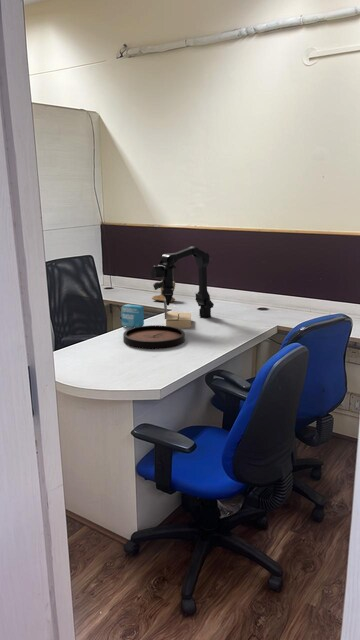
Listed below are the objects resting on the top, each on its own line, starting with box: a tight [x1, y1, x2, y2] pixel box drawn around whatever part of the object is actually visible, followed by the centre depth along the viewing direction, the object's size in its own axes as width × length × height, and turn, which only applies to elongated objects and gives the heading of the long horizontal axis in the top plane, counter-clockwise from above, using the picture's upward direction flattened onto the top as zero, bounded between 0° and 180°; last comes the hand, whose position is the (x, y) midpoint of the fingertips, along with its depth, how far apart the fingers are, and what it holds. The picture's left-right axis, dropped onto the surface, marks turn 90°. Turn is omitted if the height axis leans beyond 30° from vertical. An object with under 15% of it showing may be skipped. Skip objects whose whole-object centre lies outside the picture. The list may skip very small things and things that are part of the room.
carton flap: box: [163, 299, 179, 321], centre depth 281 cm, size 7×17×10 cm, turn 179°
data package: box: [120, 303, 145, 328], centre depth 276 cm, size 12×4×12 cm, turn 69°
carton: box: [165, 312, 192, 329], centre depth 282 cm, size 14×18×5 cm
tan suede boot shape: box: [151, 280, 176, 303], centre depth 343 cm, size 15×12×15 cm
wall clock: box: [122, 324, 186, 350], centre depth 251 cm, size 31×4×31 cm
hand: (168, 303), depth 280 cm, fingers open, 9 cm apart
